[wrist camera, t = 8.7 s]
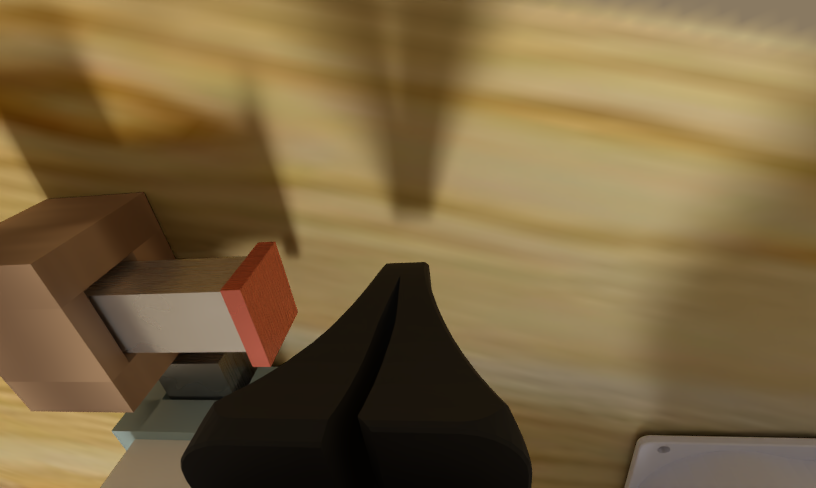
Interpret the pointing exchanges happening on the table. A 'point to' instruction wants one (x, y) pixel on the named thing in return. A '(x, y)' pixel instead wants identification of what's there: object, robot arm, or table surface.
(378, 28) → the table surface
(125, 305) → the drawer
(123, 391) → the cabinet
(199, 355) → the rail
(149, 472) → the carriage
